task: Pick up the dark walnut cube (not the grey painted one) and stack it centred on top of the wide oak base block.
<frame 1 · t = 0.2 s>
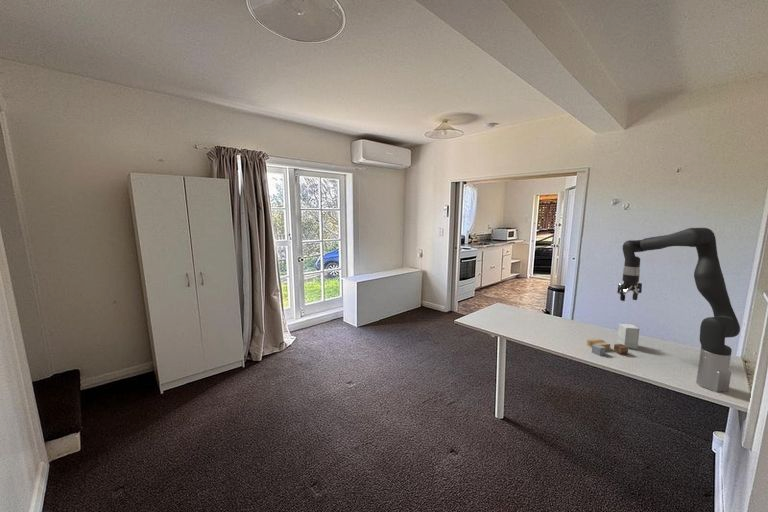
hand: (628, 300, 177), 28 cm above the table, fingers open, 8 cm apart
walnut cube: (620, 353, 171), on the table
supplement box: (627, 346, 180), on the table
oak base block: (598, 347, 178), on the table
grey painted cube: (598, 353, 171), on the table
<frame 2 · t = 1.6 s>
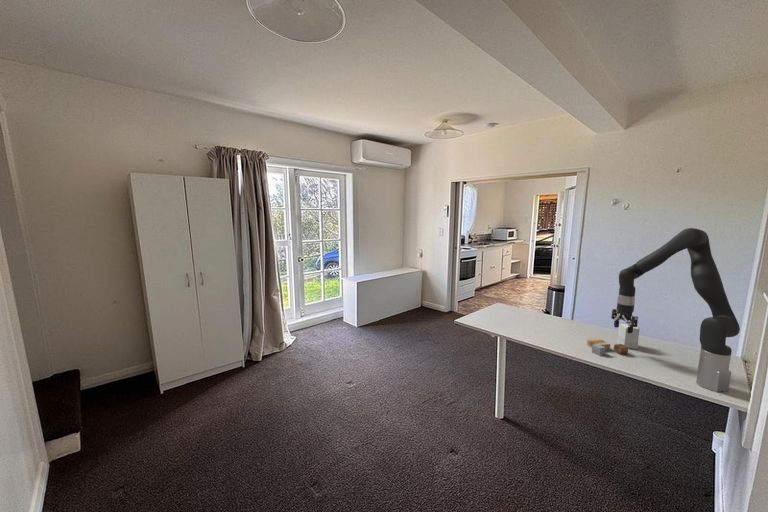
hand: (622, 330, 169), 14 cm above the table, fingers open, 8 cm apart
nothing on the table moved.
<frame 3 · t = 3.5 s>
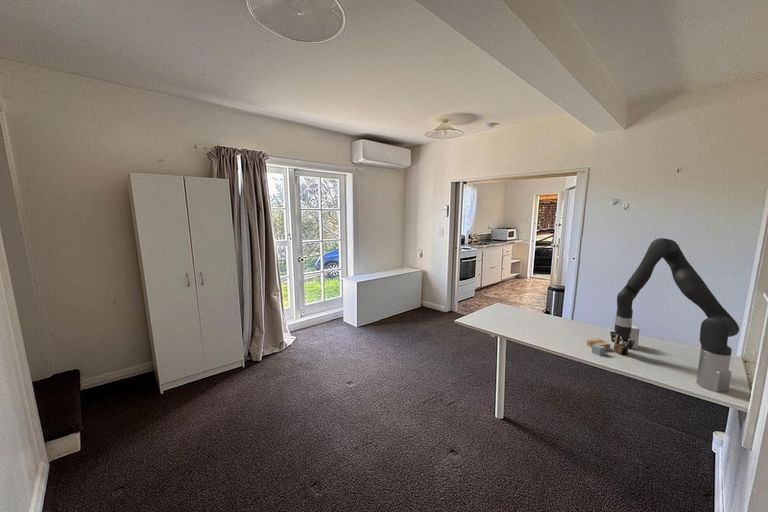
hand: (620, 352, 171), 0 cm above the table, fingers closed on walnut cube, 4 cm apart
walnut cube: (620, 352, 171), on the table, touching gripper
everything else where it was.
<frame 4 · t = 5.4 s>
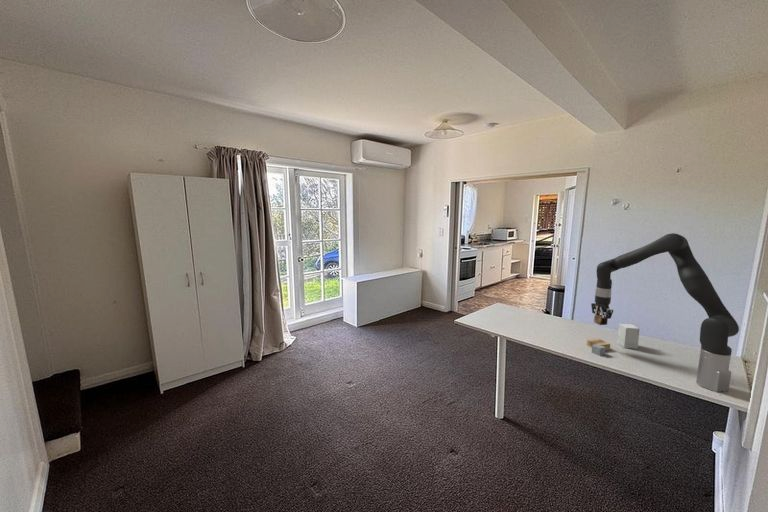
hand: (600, 322, 176), 16 cm above the table, fingers closed on walnut cube, 4 cm apart
walnut cube: (600, 323, 176), point 15 cm above the table, touching gripper
everything else where it was.
when the fingers open (5 cm above the table, at t = 7.6 s): walnut cube drops 1 cm, resting on oak base block.
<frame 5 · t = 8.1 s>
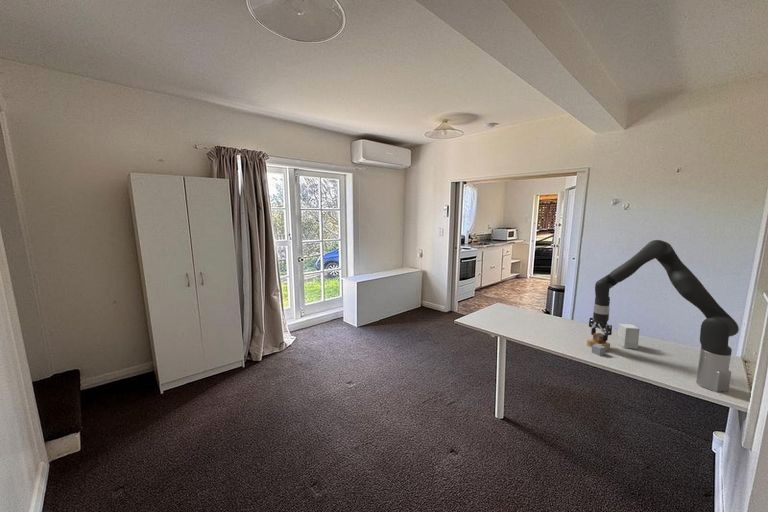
hand: (598, 337, 177), 6 cm above the table, fingers open, 8 cm apart
walnut cube: (599, 341, 177), point 4 cm above the table, touching oak base block
oak base block: (598, 347, 178), on the table, touching walnut cube
everything else where it was.
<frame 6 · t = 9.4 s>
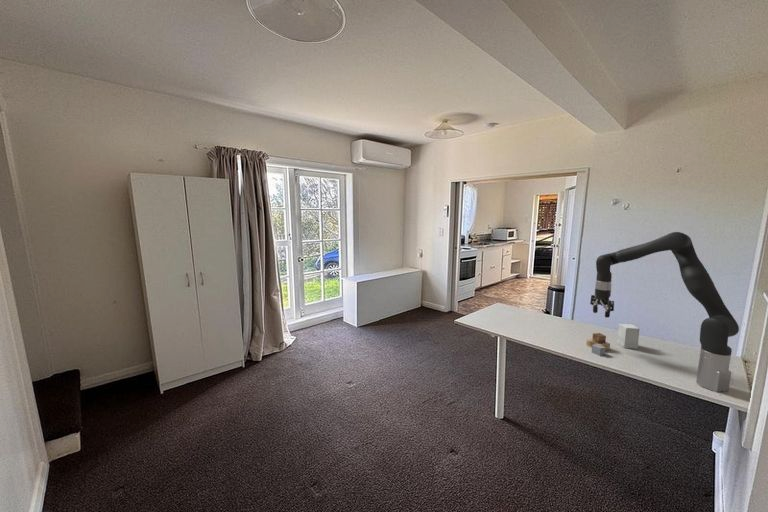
hand: (600, 314, 175), 20 cm above the table, fingers open, 8 cm apart
nothing on the table moved.
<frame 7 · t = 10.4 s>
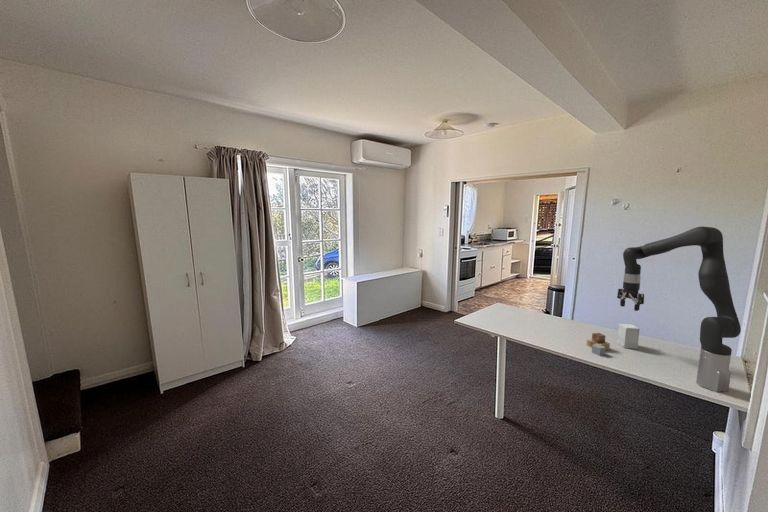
hand: (629, 308, 173), 25 cm above the table, fingers open, 8 cm apart
nothing on the table moved.
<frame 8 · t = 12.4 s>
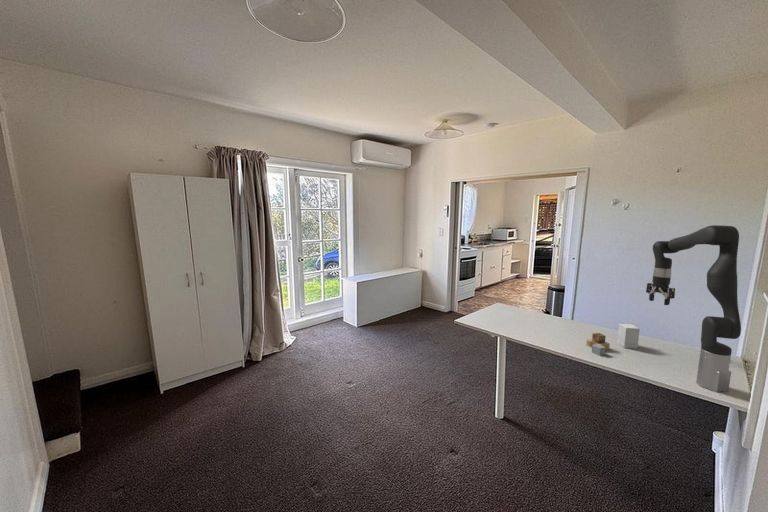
hand: (658, 302, 172), 28 cm above the table, fingers open, 8 cm apart
nothing on the table moved.
at the end: walnut cube 0.1 cm off-centre on the oak base block, point 4.0 cm above the oak base block's base; walnut cube tilted 1°; the gripper is holding nothing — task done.
